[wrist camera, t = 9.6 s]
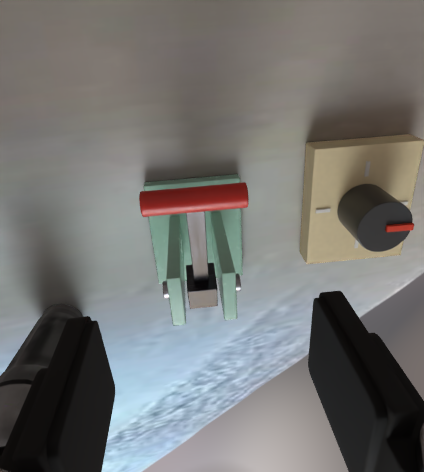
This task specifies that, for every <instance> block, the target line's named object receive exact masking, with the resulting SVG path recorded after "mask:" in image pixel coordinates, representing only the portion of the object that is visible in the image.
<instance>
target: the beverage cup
mask: <svg viewBox="0 0 424 472" xmlns="http://www.w3.org/2000/svg"><path fill="white" fill-rule="evenodd" d="M77 317H83V316H82V314H81V313H80V312H79V311H78V310H77V309H76V308H74V307H72V306H69V305H65V304H57V305H54V306H51V307H49V308H48V309H46V311H45V312H44V314H43V315H42V317H41V318H40V319H39V320H38V321H37V323H36V324H35V326H34V327H33V329H32V331H31V332H30V334H29V335H28V337H27V338H26V340H25V341H24V343H23V344H22V346H21V347H20V349H19V350H18V352H17V353H16V355H15V357H14V358H13V360H12V361H11V363H10V364H9V366H8V367H7V369H6V370H5V372H3V374H2V375H1V376H0V457H1V455H2V453H3V450H4V448H5V446H6V443H7V441H8V439H9V436H10V434H11V432H12V429H13V427H14V425H15V422H16V420H17V418H18V415H19V413H20V411H21V408H22V406H23V404H24V401H25V399H26V397H27V394H28V392H29V390H30V387H31V385H32V383H33V380H34V378H35V376H36V374H37V372H38V371H39V370H40V369H41V368H48V366H49V364H50V361H51V359H52V356H53V354H54V351H55V349H56V346H57V344H58V341H59V339H60V336H61V334H62V331H63V329H64V326H65V324H66V322H67V320H68V319H69V318H77Z"/></svg>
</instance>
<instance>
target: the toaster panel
mask: <svg viewBox="0 0 424 472" xmlns="http://www.w3.org/2000/svg"><path fill="white" fill-rule="evenodd" d="M423 146H424V140H423V139H420V138H418V137H415V136H413V135H410V134H405V135H393V136H381V137H369V138H357V139H345V140H333V141H321V142H309V143H306V155H305V171H304V188H303V205H302V221H301V238H300V254H301V255H302V257H303V259H304V260H305V262H306V264H314V263H324V262H335V261H345V260H355V259H365V258H375V257H386V256H396V255H401V250H402V245H403V241H402V242H401V243H400V244H399V245H397V246H396V247H394V248H392V249H390V250H387V251H383V252H373V251H369V250H367V249H365V248H364V247H362V246H361V244H360V243H359V242H358V241H357V240H356V239H355V238H354V237H353V236H352V235H351V233H350V232H349V231H348V230H347V229H346V228H345V227H344V226H343V225H342V223H341V222H340V221H339V218H338V214H337V210H338V205H339V202H340V200H341V199H342V197H343V196H344V195H345V193H346V192H348V191H349V190H350V189H352V188H353V187H355V186H358V185H361V184H374V185H377V186H378V187H380V188H381V189H383V190H384V191H386V192H387V193H388V194H390V195H391V196H393V197H394V198H395V199H397V200H398V201H400V202H401V203H402V204H404V205H405V206H406V207H407V208H408V209H409V210H410V207H411V203H412V198H413V193H414V188H415V184H416V179H417V174H418V170H419V165H420V160H421V155H422V151H423Z"/></svg>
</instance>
